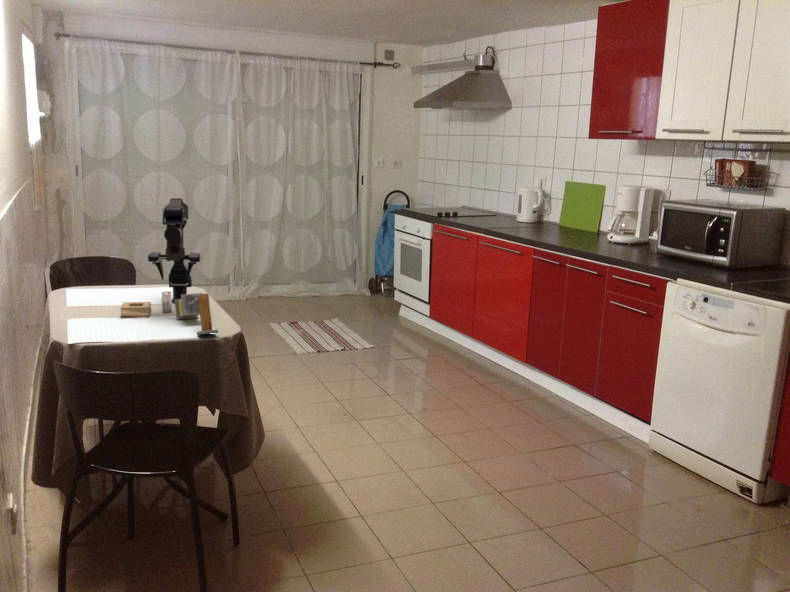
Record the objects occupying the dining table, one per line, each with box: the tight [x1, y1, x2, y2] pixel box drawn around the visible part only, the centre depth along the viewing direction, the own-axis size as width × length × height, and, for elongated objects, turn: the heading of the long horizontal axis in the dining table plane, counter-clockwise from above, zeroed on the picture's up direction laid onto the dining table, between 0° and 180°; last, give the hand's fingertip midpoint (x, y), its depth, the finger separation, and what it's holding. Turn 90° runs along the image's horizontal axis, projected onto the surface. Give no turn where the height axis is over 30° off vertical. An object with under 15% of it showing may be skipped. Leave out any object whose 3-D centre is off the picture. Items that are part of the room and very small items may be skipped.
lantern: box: [174, 292, 219, 336], centre depth 253 cm, size 8×17×30 cm
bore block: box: [120, 301, 152, 319], centre depth 268 cm, size 10×10×4 cm
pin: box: [161, 291, 173, 314], centre depth 274 cm, size 4×4×8 cm
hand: (175, 279), depth 267 cm, fingers open, 9 cm apart
